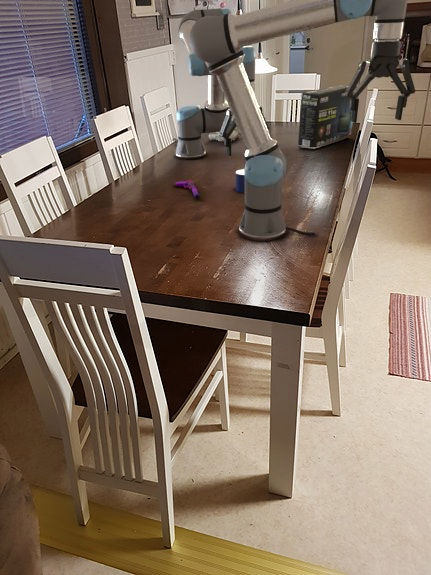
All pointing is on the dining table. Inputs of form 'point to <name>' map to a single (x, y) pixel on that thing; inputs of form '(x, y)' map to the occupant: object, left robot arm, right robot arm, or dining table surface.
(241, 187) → the cylinder
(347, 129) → the router box
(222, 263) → the dining table surface
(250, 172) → the right robot arm
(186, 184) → the handgun
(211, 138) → the fossil
